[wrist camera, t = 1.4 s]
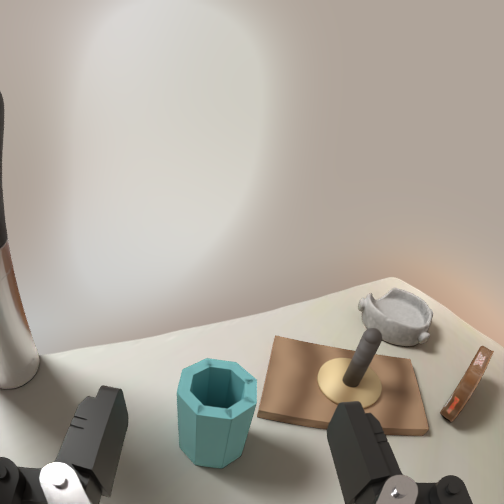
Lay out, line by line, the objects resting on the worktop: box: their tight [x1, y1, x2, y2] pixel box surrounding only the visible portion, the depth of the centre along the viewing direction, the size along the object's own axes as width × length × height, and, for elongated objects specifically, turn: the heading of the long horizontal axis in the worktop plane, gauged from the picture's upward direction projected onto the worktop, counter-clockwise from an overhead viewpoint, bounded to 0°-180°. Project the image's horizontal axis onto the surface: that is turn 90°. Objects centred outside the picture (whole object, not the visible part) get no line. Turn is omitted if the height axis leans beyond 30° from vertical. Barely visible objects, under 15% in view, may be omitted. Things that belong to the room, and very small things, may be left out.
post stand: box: [257, 328, 429, 436], centre depth 35 cm, size 22×14×11 cm, turn 79°
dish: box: [358, 288, 433, 346], centre depth 51 cm, size 14×14×5 cm
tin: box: [440, 346, 494, 422], centre depth 33 cm, size 15×3×8 cm, turn 125°
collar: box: [177, 358, 257, 469], centre depth 26 cm, size 6×6×10 cm
